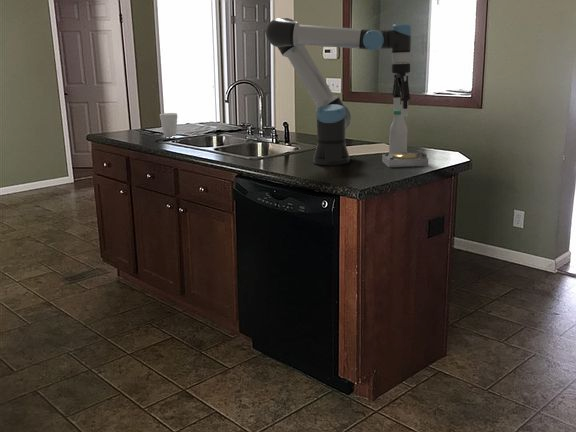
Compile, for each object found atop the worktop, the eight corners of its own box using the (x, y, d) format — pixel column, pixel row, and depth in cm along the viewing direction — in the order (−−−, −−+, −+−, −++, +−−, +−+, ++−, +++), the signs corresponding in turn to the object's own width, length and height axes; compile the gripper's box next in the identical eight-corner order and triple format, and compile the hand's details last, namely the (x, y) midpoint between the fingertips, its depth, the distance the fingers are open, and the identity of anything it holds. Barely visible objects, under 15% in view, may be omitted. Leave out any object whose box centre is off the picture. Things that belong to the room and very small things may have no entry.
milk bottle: (406, 158, 258) (407, 111, 252) (387, 158, 260) (388, 111, 254) (407, 155, 265) (409, 109, 259) (389, 154, 267) (390, 109, 261)
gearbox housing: (388, 167, 242) (388, 156, 241) (382, 161, 254) (382, 150, 252) (428, 165, 243) (428, 154, 242) (419, 159, 255) (420, 149, 253)
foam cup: (159, 139, 332) (157, 115, 328) (165, 136, 341) (163, 113, 337) (175, 138, 330) (173, 115, 327) (181, 136, 339) (179, 112, 336)
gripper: (418, 63, 239) (417, 117, 245) (402, 61, 263) (402, 111, 269) (399, 64, 239) (398, 118, 245) (385, 62, 263) (385, 111, 268)
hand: (400, 114), depth 257 cm, fingers open, 13 cm apart
